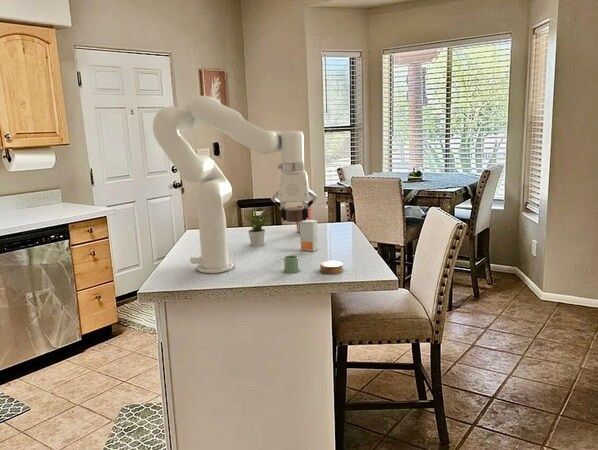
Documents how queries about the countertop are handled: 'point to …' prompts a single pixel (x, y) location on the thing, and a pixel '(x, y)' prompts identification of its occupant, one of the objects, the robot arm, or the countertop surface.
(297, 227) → the soda can
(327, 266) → the oak chip
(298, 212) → the brown round canister
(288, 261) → the plastic cup
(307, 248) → the cosmetic box
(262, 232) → the house plant
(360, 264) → the countertop surface
